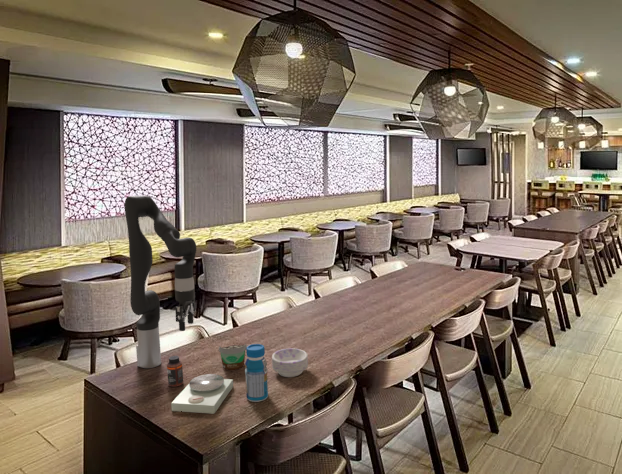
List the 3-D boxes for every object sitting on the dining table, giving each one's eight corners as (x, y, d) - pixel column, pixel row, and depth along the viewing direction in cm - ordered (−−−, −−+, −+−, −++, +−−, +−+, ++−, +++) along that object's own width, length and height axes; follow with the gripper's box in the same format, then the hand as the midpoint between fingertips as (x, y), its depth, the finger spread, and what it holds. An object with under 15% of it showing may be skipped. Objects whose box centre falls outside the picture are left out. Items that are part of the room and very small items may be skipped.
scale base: (171, 410, 169) (171, 401, 169) (195, 384, 190) (194, 376, 189) (214, 413, 167) (213, 404, 166) (233, 386, 187) (232, 378, 187)
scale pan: (183, 392, 176) (183, 388, 175) (197, 377, 188) (197, 373, 188) (217, 394, 174) (216, 390, 173) (228, 378, 186) (228, 374, 186)
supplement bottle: (185, 380, 193) (183, 354, 192) (181, 387, 188) (179, 360, 186) (170, 380, 193) (168, 354, 192) (166, 387, 187) (164, 360, 186)
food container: (220, 373, 199) (219, 351, 198) (219, 367, 205) (218, 345, 204) (249, 369, 203) (248, 347, 201) (247, 364, 209) (246, 342, 207)
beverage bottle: (252, 405, 172) (250, 353, 169) (242, 396, 179) (239, 346, 176) (272, 398, 177) (271, 347, 174) (261, 390, 184) (259, 341, 181)
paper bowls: (283, 384, 189) (283, 365, 187) (265, 370, 201) (265, 353, 200) (315, 374, 197) (314, 356, 196) (296, 362, 209) (295, 345, 208)
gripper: (182, 283, 195) (184, 320, 197) (168, 292, 181) (170, 332, 183) (200, 283, 194) (201, 321, 196) (186, 293, 180) (188, 333, 182)
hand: (186, 327), depth 190 cm, fingers open, 8 cm apart
